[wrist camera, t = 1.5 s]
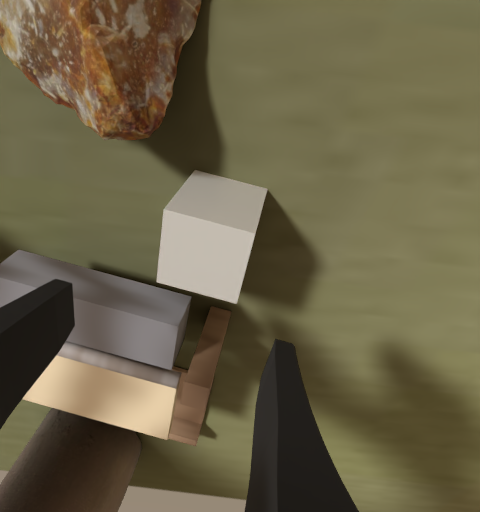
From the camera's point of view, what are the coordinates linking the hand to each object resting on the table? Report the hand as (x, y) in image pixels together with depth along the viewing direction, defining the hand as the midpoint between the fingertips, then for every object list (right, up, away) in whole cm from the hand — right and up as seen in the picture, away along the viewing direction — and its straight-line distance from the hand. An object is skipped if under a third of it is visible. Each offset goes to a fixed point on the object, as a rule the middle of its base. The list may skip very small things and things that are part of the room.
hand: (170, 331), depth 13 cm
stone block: (+1, +4, +6) cm, 7 cm away
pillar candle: (-12, -15, +23) cm, 30 cm away
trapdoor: (-6, -2, +10) cm, 12 cm away
